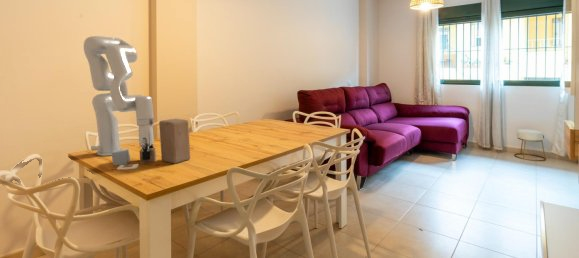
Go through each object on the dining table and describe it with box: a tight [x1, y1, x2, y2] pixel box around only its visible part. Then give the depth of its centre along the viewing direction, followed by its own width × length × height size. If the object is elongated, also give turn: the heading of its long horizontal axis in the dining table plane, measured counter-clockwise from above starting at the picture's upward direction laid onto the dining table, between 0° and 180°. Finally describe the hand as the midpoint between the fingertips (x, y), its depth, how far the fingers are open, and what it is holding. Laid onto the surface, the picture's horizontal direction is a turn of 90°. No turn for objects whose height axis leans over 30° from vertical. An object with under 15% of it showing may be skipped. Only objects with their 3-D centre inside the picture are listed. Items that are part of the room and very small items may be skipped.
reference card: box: [116, 163, 140, 170], centre depth 147 cm, size 8×5×1 cm, turn 102°
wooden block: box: [158, 118, 191, 165], centre depth 157 cm, size 10×10×20 cm
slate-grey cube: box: [111, 148, 131, 166], centre depth 154 cm, size 6×6×6 cm
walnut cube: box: [139, 147, 157, 164], centre depth 156 cm, size 6×6×6 cm
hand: (148, 156), depth 156 cm, fingers open, 9 cm apart
